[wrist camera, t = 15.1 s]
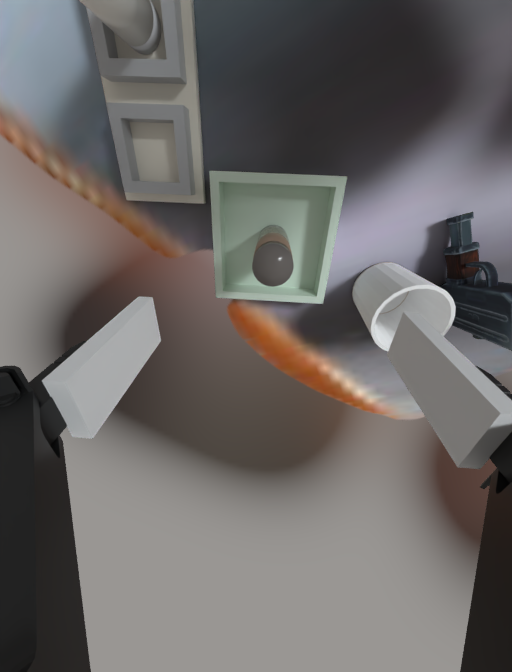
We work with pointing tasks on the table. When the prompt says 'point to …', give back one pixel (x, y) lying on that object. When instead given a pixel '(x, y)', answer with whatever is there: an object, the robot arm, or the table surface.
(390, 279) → the mug
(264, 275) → the fuse
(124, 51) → the panel
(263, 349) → the table surface
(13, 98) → the table surface
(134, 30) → the fuse
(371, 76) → the table surface
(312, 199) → the parts tray
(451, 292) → the gun
